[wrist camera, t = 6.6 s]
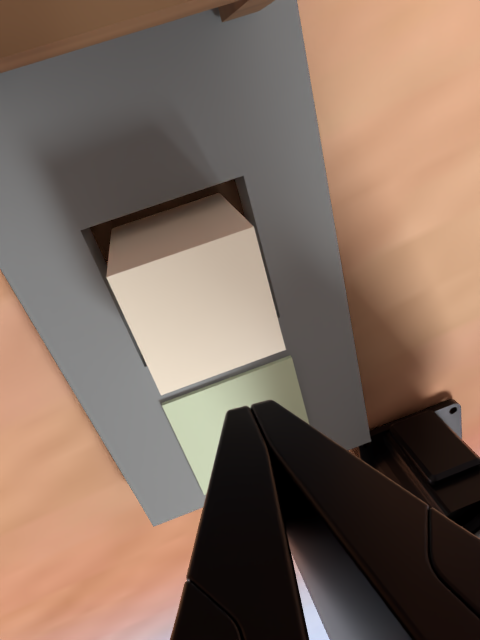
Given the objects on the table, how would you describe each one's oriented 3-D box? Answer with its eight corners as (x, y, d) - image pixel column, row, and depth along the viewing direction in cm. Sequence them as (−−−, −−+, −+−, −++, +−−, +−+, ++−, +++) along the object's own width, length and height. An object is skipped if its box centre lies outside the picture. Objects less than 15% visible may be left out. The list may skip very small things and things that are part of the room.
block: (247, 289, 20) (286, 349, 15) (152, 323, 19) (161, 395, 15) (219, 192, 18) (253, 226, 13) (111, 228, 17) (106, 277, 12)
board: (353, 417, 25) (372, 443, 23) (151, 495, 24) (153, 530, 22) (244, -166, 13) (264, -212, 11) (-160, -55, 12) (-214, -84, 10)
